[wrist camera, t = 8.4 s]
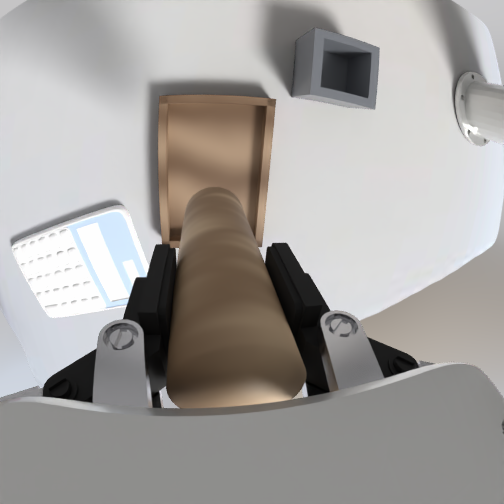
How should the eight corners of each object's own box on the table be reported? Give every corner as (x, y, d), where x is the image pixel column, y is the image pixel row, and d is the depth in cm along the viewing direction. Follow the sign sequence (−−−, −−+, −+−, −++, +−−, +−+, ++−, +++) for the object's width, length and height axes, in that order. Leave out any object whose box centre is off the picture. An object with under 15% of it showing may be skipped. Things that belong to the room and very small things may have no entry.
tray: (162, 97, 23) (159, 95, 21) (271, 99, 25) (276, 99, 23) (164, 239, 30) (162, 247, 29) (258, 239, 32) (261, 246, 31)
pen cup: (352, 54, 23) (379, 47, 18) (348, 107, 26) (375, 109, 21) (295, 40, 21) (315, 27, 17) (291, 97, 25) (310, 94, 20)
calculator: (14, 240, 27) (7, 246, 25) (126, 200, 28) (122, 205, 26) (53, 313, 33) (49, 321, 32) (161, 293, 35) (160, 302, 33)
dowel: (244, 187, 16) (321, 338, 6) (241, 240, 18) (292, 412, 7) (184, 187, 15) (154, 347, 5) (185, 241, 17) (176, 421, 7)
